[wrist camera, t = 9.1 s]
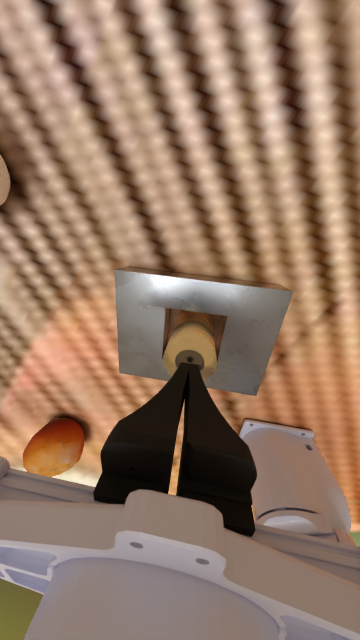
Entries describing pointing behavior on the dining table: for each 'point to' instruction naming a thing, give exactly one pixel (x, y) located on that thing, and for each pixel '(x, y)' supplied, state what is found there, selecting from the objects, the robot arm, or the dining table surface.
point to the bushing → (192, 344)
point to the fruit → (54, 448)
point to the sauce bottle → (4, 181)
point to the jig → (207, 297)
